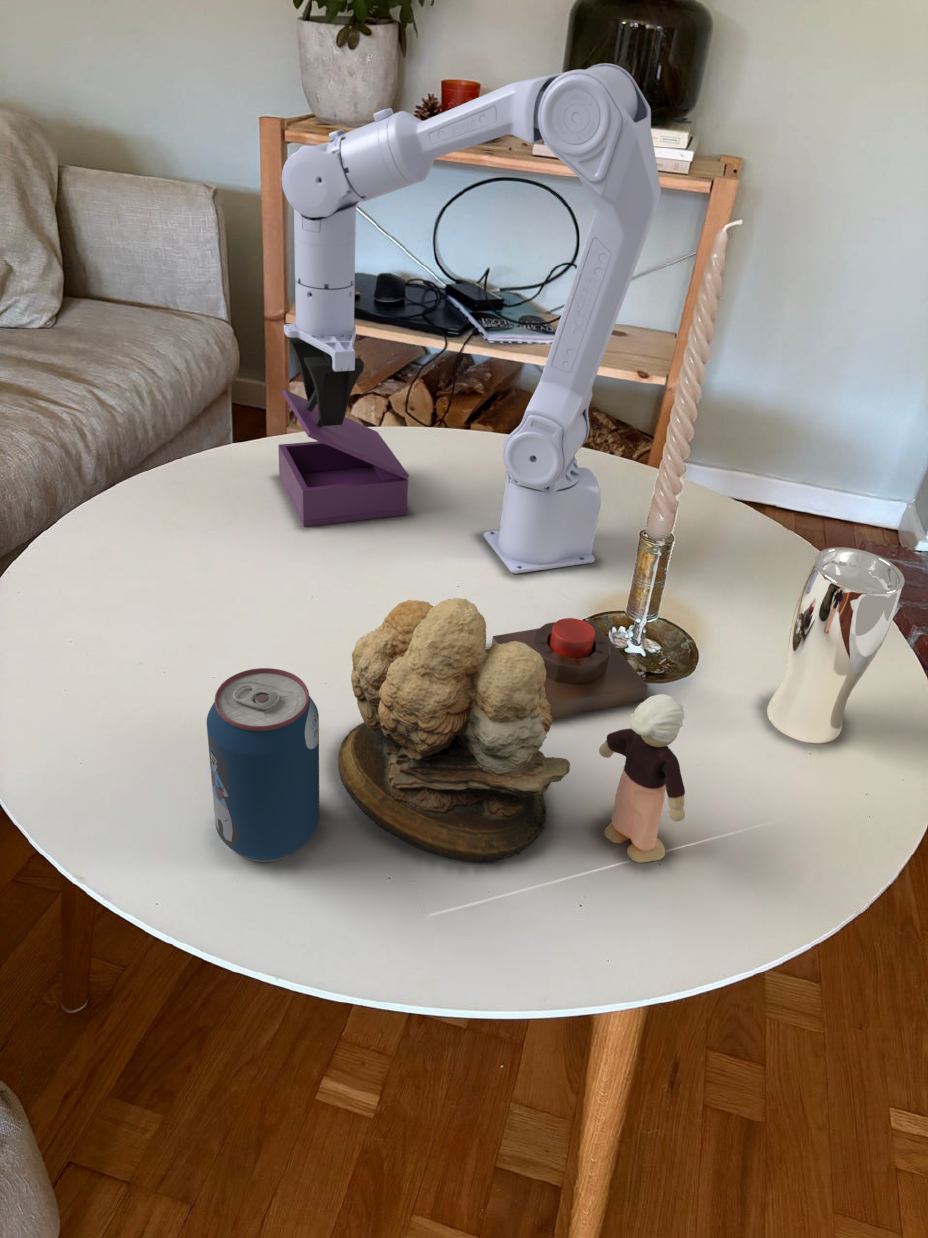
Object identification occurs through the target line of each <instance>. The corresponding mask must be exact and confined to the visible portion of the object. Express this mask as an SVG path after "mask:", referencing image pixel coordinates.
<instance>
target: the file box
mask: <svg viewBox="0 0 928 1238" xmlns="http://www.w3.org/2000/svg"><path fill="white" fill-rule="evenodd" d="M277 448H278V473H279V474H278V475H279V480H280V482H281V485H282V486H283V488H284V491H285V492H286V495H287V496H288V498H289V500H290V503H291V504H292V507H293V508H294V510H295V512H296V515H297V516H298V518H299V520H300V523H301V525H302V527H311V526H312V527H313V526H321V525H330V524H331V525H332V524H338V523H339V524H340V523H348V522H355V521H366V520H373V519H382V518H388V517H389V518H390V517H392V518H393V517H398V516H406V515H407V509H408V496H409V495H408V492H409V478H408V479H405V478H403V477H400V476H398V475H396V474H393V473H391V472H389V471H386V470H384V469H382V468H379V467H377V466H375V465H372V464H370V463H368V462H365V461H363V460H361V459H359V458H356V457H354V456H352V455H349V454H347V453H345V452H342V451H340V450H338V449H335V448H333V447H331V446H328V445H326V444H324V443H321V442H319V441H317V440H315V441H306V442H305V441H304V442H294V443H282V444H278V447H277Z"/></svg>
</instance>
